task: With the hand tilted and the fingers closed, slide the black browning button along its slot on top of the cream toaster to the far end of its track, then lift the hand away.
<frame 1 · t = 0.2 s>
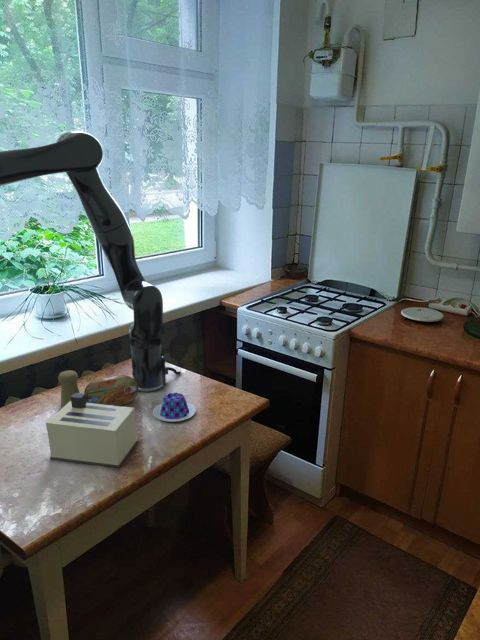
toaster: (95, 450, 122), on the table
pepper mill: (72, 407, 142), on the table
pudding: (174, 413, 141), on the table
slider button: (78, 400, 122), point 12 cm above the table, slide at 0.0 cm
tin: (112, 404, 144), on the table
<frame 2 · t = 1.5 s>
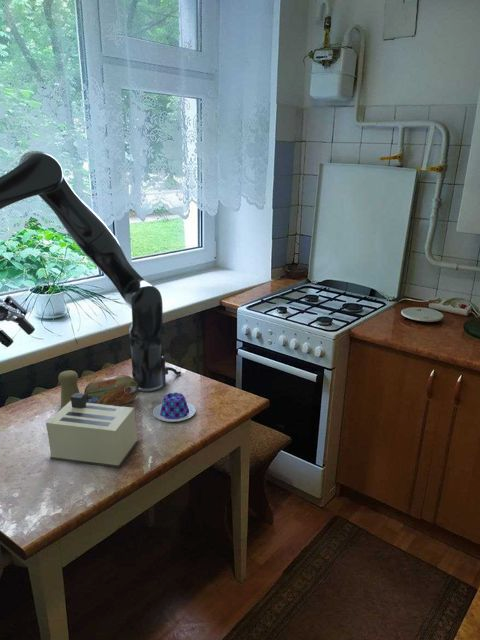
hand: (21, 338, 118), 27 cm above the table, tool tilted 45°, fingers open, 8 cm apart
nothing on the table moved.
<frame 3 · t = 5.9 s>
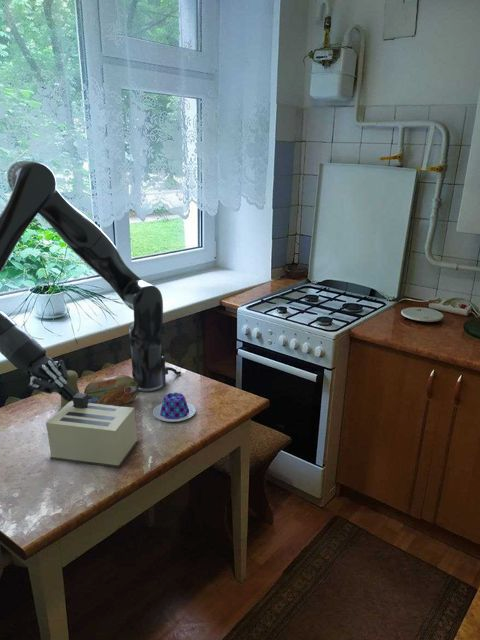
hand: (73, 398, 122), 12 cm above the table, tool tilted 45°, fingers closed
slider button: (80, 400, 122), point 12 cm above the table, slide at 0.5 cm, touching gripper
everything else where it was.
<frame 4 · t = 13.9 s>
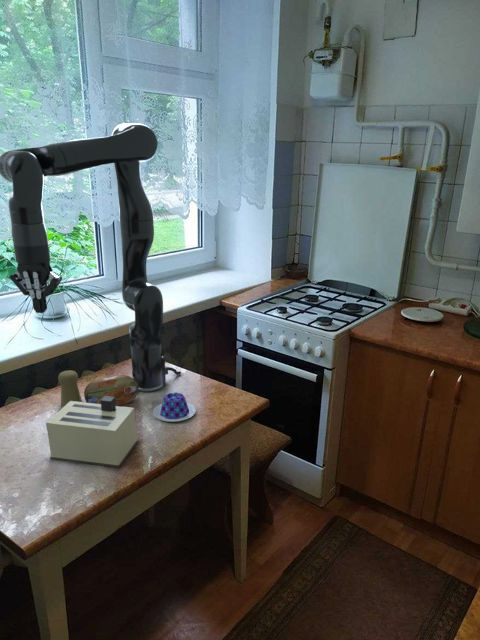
hand: (40, 312, 123), 31 cm above the table, tool pointing down, fingers closed
slider button: (108, 403, 121), point 12 cm above the table, slide at 7.7 cm
everything else where it was.
at the end: slider button slide at 7.7 cm; pepper mill moved 0.2 cm from its start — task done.
